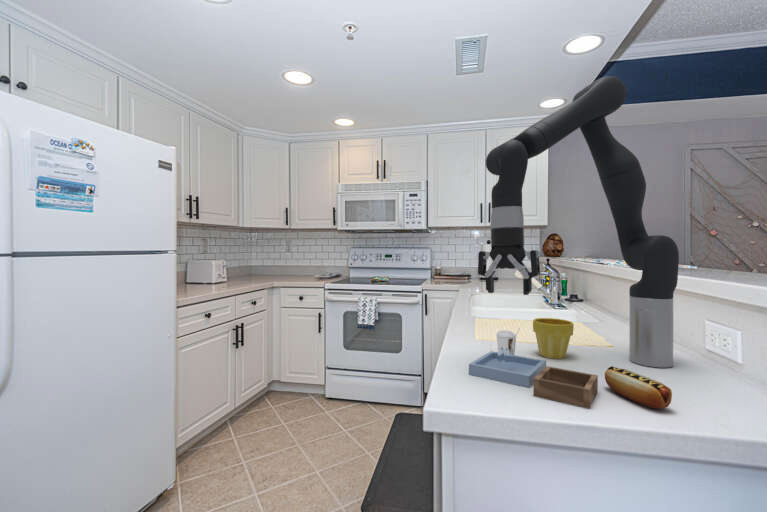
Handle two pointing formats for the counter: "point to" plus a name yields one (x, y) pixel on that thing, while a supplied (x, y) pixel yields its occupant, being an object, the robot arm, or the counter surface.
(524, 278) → the robot arm
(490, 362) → the tray
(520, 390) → the counter surface
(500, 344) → the milkshake
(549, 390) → the holder
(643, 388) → the hot dog
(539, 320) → the plant pot
